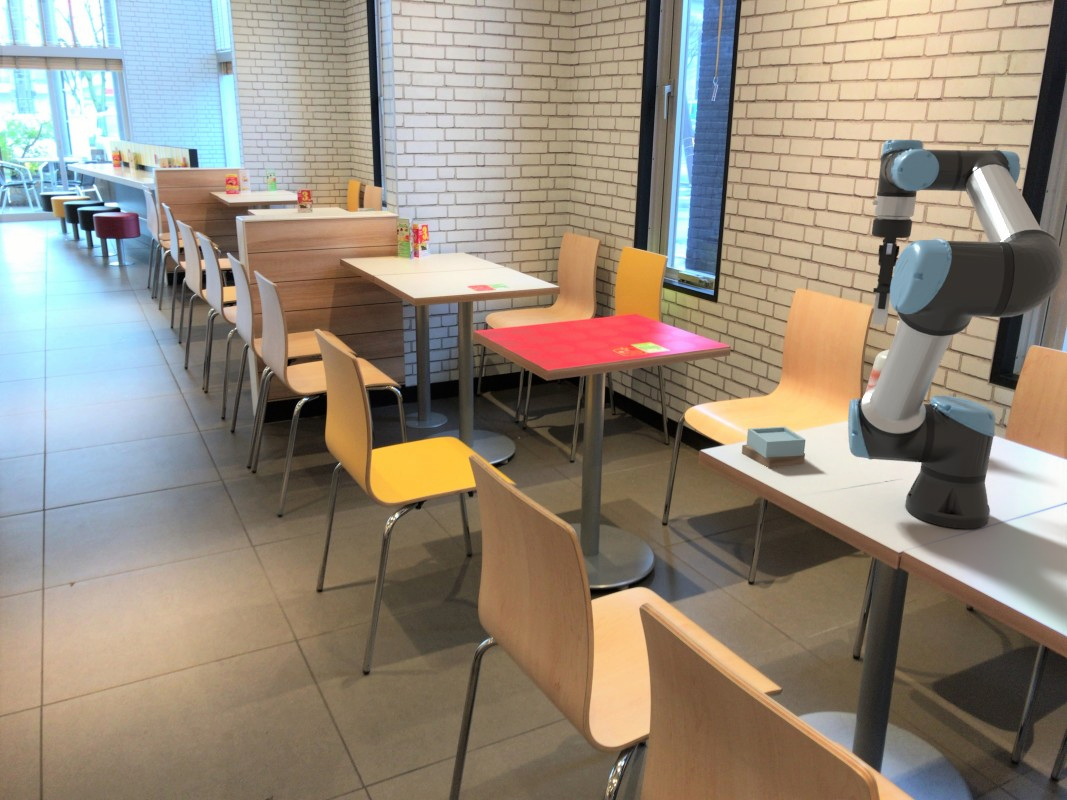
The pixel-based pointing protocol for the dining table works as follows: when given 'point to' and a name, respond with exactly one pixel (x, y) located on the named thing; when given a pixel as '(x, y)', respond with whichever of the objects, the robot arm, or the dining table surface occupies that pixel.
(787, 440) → the light blue square tray
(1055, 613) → the dining table surface
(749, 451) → the walnut block
